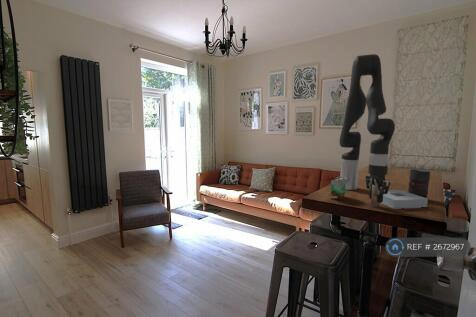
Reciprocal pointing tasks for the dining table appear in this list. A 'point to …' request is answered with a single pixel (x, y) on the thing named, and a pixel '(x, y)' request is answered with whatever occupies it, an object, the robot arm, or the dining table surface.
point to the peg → (374, 197)
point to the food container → (338, 188)
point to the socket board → (403, 200)
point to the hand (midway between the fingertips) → (375, 200)
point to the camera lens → (419, 182)
